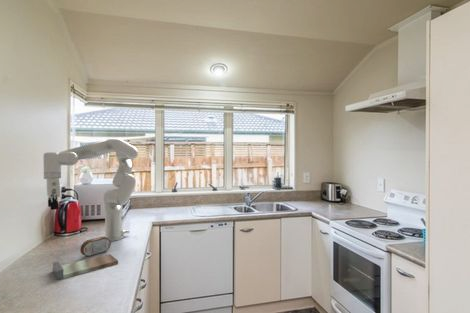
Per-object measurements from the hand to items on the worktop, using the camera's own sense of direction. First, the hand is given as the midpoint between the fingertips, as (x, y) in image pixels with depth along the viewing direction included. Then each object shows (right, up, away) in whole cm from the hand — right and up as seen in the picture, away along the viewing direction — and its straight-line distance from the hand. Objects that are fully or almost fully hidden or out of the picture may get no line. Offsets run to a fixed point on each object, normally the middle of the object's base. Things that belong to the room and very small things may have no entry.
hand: (53, 207), depth 140 cm
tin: (+21, -26, +3) cm, 34 cm away
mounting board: (+26, -26, -13) cm, 39 cm away
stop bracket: (+17, -26, -22) cm, 38 cm away
